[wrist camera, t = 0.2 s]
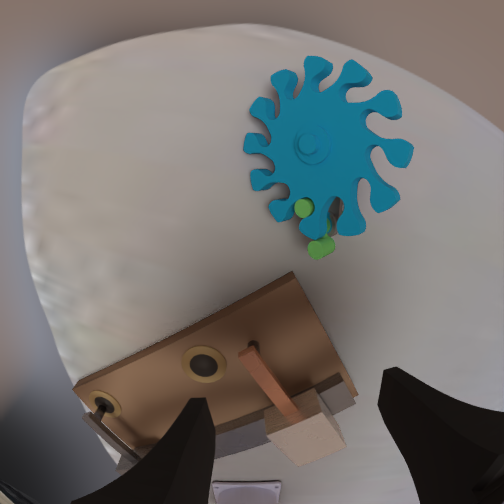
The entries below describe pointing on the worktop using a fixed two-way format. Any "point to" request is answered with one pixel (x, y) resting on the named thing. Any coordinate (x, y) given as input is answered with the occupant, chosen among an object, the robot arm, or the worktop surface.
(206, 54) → the worktop surface
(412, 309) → the worktop surface
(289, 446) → the slider
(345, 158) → the gear
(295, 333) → the hole board
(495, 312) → the worktop surface
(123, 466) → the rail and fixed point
